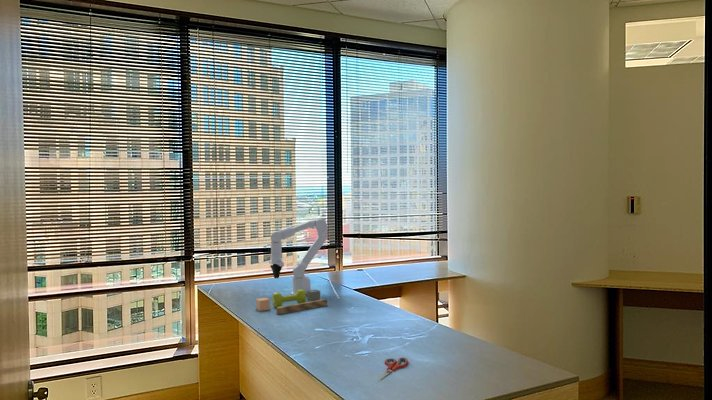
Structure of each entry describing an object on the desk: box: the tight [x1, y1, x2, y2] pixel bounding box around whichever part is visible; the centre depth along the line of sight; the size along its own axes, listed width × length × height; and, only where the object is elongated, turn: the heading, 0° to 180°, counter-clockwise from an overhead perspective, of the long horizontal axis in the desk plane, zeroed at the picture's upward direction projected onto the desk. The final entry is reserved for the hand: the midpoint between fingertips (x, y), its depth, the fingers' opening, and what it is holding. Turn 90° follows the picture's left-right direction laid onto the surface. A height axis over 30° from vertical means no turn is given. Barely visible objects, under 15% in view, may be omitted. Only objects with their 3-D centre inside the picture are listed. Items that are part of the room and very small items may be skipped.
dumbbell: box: [272, 289, 307, 309], centre depth 246 cm, size 16×8×7 cm, turn 114°
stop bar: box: [276, 298, 328, 316], centre depth 236 cm, size 26×2×3 cm, turn 123°
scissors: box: [376, 357, 409, 383], centre depth 153 cm, size 8×21×2 cm, turn 165°
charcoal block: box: [306, 289, 322, 302], centre depth 255 cm, size 5×5×5 cm
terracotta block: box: [255, 297, 271, 312], centre depth 240 cm, size 5×5×5 cm
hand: (276, 278), depth 271 cm, fingers closed
